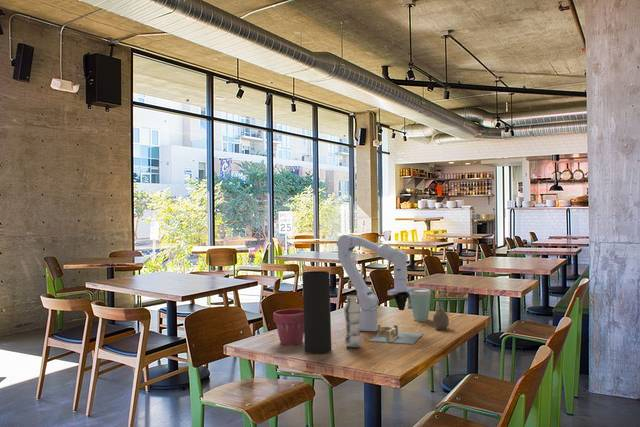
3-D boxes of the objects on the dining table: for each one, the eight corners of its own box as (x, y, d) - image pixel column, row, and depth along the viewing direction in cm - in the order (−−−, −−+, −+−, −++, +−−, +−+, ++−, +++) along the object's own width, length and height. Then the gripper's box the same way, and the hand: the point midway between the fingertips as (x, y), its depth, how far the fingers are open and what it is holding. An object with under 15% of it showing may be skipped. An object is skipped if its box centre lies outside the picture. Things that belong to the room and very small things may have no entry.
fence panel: (393, 335, 225) (393, 326, 225) (396, 335, 224) (396, 326, 224) (385, 340, 217) (385, 330, 217) (388, 340, 216) (388, 331, 216)
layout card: (369, 341, 218) (369, 340, 218) (382, 331, 235) (382, 330, 235) (412, 344, 211) (412, 343, 211) (423, 334, 228) (423, 332, 228)
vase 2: (449, 330, 233) (448, 310, 233) (433, 330, 235) (432, 310, 235) (448, 327, 240) (448, 307, 240) (433, 327, 242) (432, 307, 242)
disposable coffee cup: (435, 318, 260) (434, 287, 260) (427, 322, 251) (426, 290, 251) (414, 317, 266) (413, 286, 266) (406, 321, 257) (405, 289, 257)
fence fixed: (377, 335, 228) (377, 324, 228) (378, 334, 229) (378, 324, 229) (397, 337, 224) (396, 326, 224) (398, 336, 226) (397, 325, 226)
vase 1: (310, 355, 199) (308, 274, 199) (300, 349, 208) (298, 272, 208) (335, 351, 203) (333, 272, 203) (324, 346, 212) (322, 270, 212)
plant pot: (269, 341, 224) (268, 310, 224) (301, 337, 230) (300, 307, 230) (280, 348, 211) (279, 315, 211) (313, 343, 217) (312, 312, 217)
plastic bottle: (350, 350, 205) (348, 297, 205) (341, 346, 211) (340, 295, 211) (364, 347, 208) (363, 296, 208) (355, 344, 214) (354, 294, 214)
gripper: (395, 281, 227) (396, 313, 227) (418, 277, 236) (419, 308, 236) (383, 279, 232) (384, 311, 232) (407, 276, 241) (407, 306, 241)
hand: (401, 309), depth 234 cm, fingers closed
